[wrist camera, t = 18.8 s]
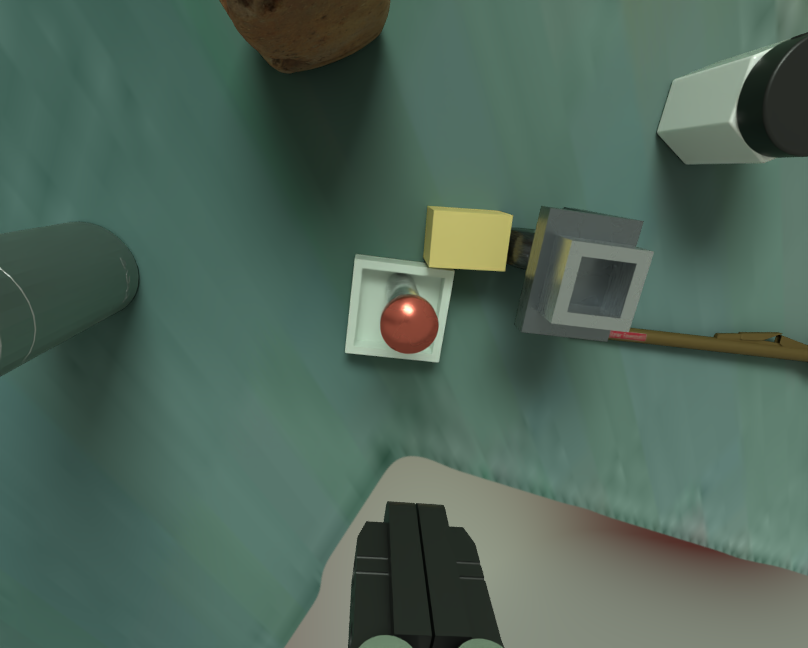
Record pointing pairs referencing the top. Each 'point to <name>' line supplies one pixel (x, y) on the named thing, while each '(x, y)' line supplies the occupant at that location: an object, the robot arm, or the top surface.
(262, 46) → the block
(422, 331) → the pin
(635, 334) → the brown wooden spoon
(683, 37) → the top surface
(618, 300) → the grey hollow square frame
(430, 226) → the block
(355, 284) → the tray
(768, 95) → the jar
